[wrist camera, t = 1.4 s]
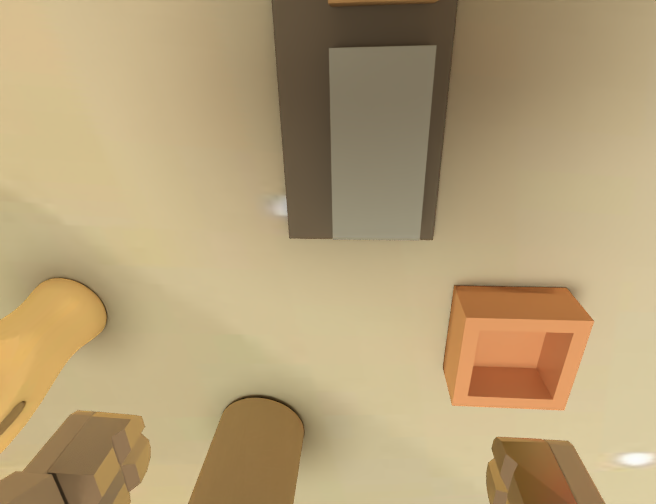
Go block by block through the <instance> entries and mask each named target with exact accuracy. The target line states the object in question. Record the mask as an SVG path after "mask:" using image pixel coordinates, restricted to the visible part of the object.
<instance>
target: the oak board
mask: <svg viewBox="0 0 656 504" xmlns="http://www.w3.org/2000/svg"><path fill="white" fill-rule="evenodd" d="M437 1H439V0H328V4H329V5H330V6H331V7H339V6H368V5H398V4H427V3H435V2H437Z"/></svg>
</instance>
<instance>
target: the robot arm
mask: <svg viewBox="0 0 656 504" xmlns="http://www.w3.org/2000/svg"><path fill="white" fill-rule="evenodd" d="M144 427H145V425H144V422H143V419H142V416H138V415H129V414H118V413H107V412H93V411H80V410H77V411H76V412H74V413H72V414H71V415H70V416H69V417H68V418H67V419H66V420H65V421H64V423H63V424H62V425H61V426H60V427H59V429H58V430H57V431H56V432H55V433H54V434H53V436H52V437H51V438H50V439H49V440H48V442H47V443H46V444H45V445H44V446H43V448H42V449H41V450H40V451H39V452H38V453H37V455H36V456H35V457H34V458H33V459H32V461H31V462H30V463H29V464H28V465H27V466H26V468H25V469H24V470H23V471H22V472H19V471H15V472H14V473H12V474H10V475H9V476H7V477H5V478H4V479H2V480H0V504H130V502H131V500H130V493H129V492H130V491H131V490H132V489H134V488H135V487H136V486H137V485H139V484H140V483H141V482H142V480H143V478H144V476H145V474H146V472H147V469H148V465H149V461H150V458H151V447H150V443H149V440H148V439H147V438H146V437H145V436H144V435H143V434H142V433H141V432H142V431H143V429H144ZM491 449H492V452H493V455H494V459H492V460H491V461H490V462H488V466H487V472H486V486H487V492H488V498H489V502H490V504H605V502H604V500H603V498H602V497H601V495H600V493H599V491H598V489H597V488H596V486H595V484H594V482H593V480H592V479H591V477H590V475H589V473H588V471H587V470H586V468H585V466H584V464H583V462H582V460H581V459H580V457H579V455H578V453H577V451H576V450H575V448H574V446H573V445H572V444H571V443H570V442H569V441H562V440H545V439H544V440H542V439H532V438H511V437H496V438H495V439H494V441H493V444H492V448H491Z"/></svg>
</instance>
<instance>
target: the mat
mask: <svg viewBox="0 0 656 504" xmlns="http://www.w3.org/2000/svg"><path fill="white" fill-rule="evenodd" d="M457 3H458V0H439V1H437V2H435V3H427V4H398V5H368V6H339V7H331V6H330V5H329V4H328V0H272V10H273V24H274V37H275V51H276V64H277V78H278V91H279V105H280V118H281V132H282V145H283V159H284V172H285V186H286V199H287V213H288V226H289V238H300V239H333V224H332V175H331V126H330V77H329V48H341V47H380V46H418V45H437V46H436V57H435V69H434V80H433V92H432V103H431V115H430V126H429V138H428V150H427V161H426V173H425V184H424V196H423V207H422V219H421V230H420V240H433V235H434V225H435V215H436V206H437V196H438V186H439V177H440V167H441V157H442V148H443V138H444V128H445V119H446V109H447V99H448V90H449V80H450V70H451V61H452V51H453V41H454V32H455V22H456V12H457Z"/></svg>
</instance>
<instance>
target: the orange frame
mask: <svg viewBox="0 0 656 504" xmlns="http://www.w3.org/2000/svg"><path fill="white" fill-rule="evenodd" d="M593 323H594V320H593V319H592V318H591V317H590V316H589V314H588V313H587V312H586V311H585V310H584V308H583V307H582V306H581V305H580V303H579V302H578V301H577V300H576V299H575V297H574V296H573V295H572V294H571V293H570V291H569V290H568V289H567V288H552V287H502V286H454V290H453V297H452V304H451V312H450V319H449V326H448V334H447V341H446V348H445V355H444V363H443V370H444V374H445V378H446V382H447V387H448V391H449V395H450V399H451V403H452V405H453V406H476V407H499V408H522V409H546V410H564V409H565V406H566V403H567V400H568V397H569V394H570V391H571V388H572V385H573V382H574V379H575V376H576V373H577V371H578V368H579V365H580V362H581V359H582V356H583V353H584V350H585V347H586V344H587V341H588V338H589V335H590V332H591V329H592V326H593Z"/></svg>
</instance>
